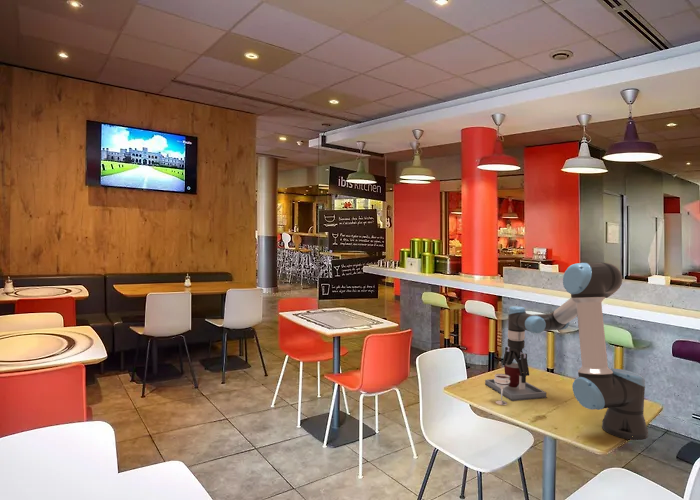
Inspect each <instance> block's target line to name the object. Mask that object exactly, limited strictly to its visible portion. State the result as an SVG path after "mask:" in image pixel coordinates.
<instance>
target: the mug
mask: <svg viewBox="0 0 700 500" xmlns="http://www.w3.org/2000/svg"><path fill="white" fill-rule="evenodd" d="M504 374H506V375H509V376H510V378H509V379H510V384H509V386H510V387H514V388H515V387H518V385H519V375H521V374H520V371H519V367H518V364H517V363H513V362H512V364H511V365H507V364H505V367H504Z"/></svg>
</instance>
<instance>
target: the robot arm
mask: <svg viewBox="0 0 700 500" xmlns="http://www.w3.org/2000/svg"><path fill="white" fill-rule="evenodd" d="M622 284H623V275H622V273H621V270H620V269H619V268H618V267H617V266H615V265H614V264H612V263H608V262H580V263H574V264H571V265H569V266H568V267H567V268H566V270H565V271H564V273H563V277H562V285H563V288H564V289H565V291H566V292H567V293H568V294H570V298H569V299H568V300H566V301H565V302H564V303H563V304H562V303H561V305H560V306H558V307H557V308H556V309H554V310H553V311H552V312H551V313H540V314H530V313H527V310H526V307H524V306H520V305H519V306H518V305H517V306H516V305H513V306H509V308H508V315H507V317H508V318H507V319H508V320H507V322H508V323H507V326H508V327H507V346H506V347H505V348H504V354H503V355H504V356H503V358H502V362H501V363H502V364H501V365H502V366H503V367H504V368H505V364H507V365H511V364H512V363H513V361H514V360H515V362H516V364H518V367H519V371H520V374H521V375H519V389H520V390H523V389H525V383H526V382H527V381H526V380H527V377H528V376H530V370H529V362H528V353H523V349H525V339H526V338H525V337H526V336H525V334H526V331H527V332H529V333H531V334H532V333H533V334H541V333H542V332H544V331H545V332H546V331H561V330H566V329H568V327H569V325H570V322H571V321H573V320H574V319H576V317H577V324H578V338H579V346H580V347H579V348H580V357H581V359H580V360H581V367H580V368H579V369H578V370H577V372H578V373H577V375H578V377H576V378H575V379H574V381H573V382H572V392H573V395H574V397H575V399H576V400H577V402H578V403H579V405H581V406H582V407H583V408H585V409H587V410H598V411H599V410H600V411H601V410H603V409H606V412H605V414H604V417H603V418H602V420H601V421H602V422H601V429H602V430H603V431H605V432H606V433H608V434H610V435H612V436H615V437H618V438H621V439H626V440H633V441H641V440H646V439H648V438H649V428H648V426H647V422H646V419H645V415H644V408H645V389H646V385H645V384H646V382H645V378H644V377H643V376H642V375H641V374H639V373H636V372H634V371H630V370H626V369H621V368H609V367H608V366H609V365H608V363H609V362H608V358H607V357H608V355H607V345H606V336H605V327H604V326H605V325H604V315H603V305H602V302H603V301H604V300H605V299H608V298H609V297H611V296H612V295H614V294H615V293H616V292H618V291H619V290H620V288H621V286H622ZM632 436H633V437H632Z"/></svg>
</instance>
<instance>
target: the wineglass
mask: <svg viewBox="0 0 700 500" xmlns="http://www.w3.org/2000/svg"><path fill="white" fill-rule="evenodd" d="M509 378H510V376H509V375H506V374H505V373H495V374H494V378H493V379H494V382H495V384H496V385H497V386H498V387H500V388H501V394H500V400H496V401H495V404H497V405H501V406H507V405H508V402H507V401H504V400H503V395H502V394H503V389H504V388H506V387H507V386H509V384H510V379H509Z"/></svg>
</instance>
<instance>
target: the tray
mask: <svg viewBox="0 0 700 500" xmlns="http://www.w3.org/2000/svg"><path fill="white" fill-rule="evenodd" d="M484 381H485V382H484V385H485V386H487V387H488V388H489V389H492V390H493V391H495V392H497V393H498V394H499V395H501V388H500V387H498V386H497V385H496V384H495V382H494V378H492V379H490V378H489V379H485V380H484ZM502 397H504V398H506V399H508V400H510V401H511V402H514V401H515V402H516V401H525V400H537V399H546V398H547V392H546V391H544V390H542V389H541V388H539V387H537V386H535V385H533V384H531V383H529V382H527V381H526V383H525V389H523V390H520V389H519V385H518V387H515V388H514V387H510V386H507V387H506V388H504V389H503V394H502Z"/></svg>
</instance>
